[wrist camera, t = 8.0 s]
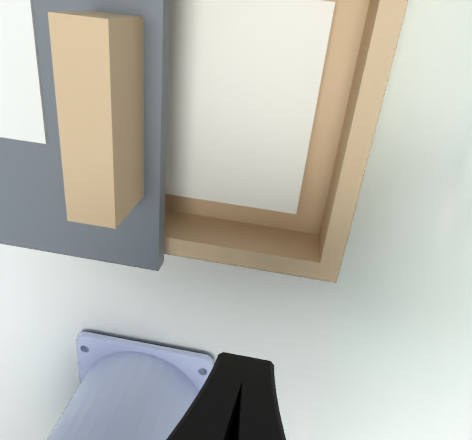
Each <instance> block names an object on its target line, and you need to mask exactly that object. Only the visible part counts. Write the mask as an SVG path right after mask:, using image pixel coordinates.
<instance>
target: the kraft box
mask: <svg viewBox="0 0 472 440" xmlns="http://www.w3.org/2000/svg"><path fill="white" fill-rule="evenodd" d="M407 2H408V0H170V22H169V62H168V102H167V142H166V183H165V223H164V254H169V255H175V256H181V257H187V258H193V259H199V260H205V261H211V262H216V263H222V264H228V265H234V266H240V267H246V268H252V269H258V270H264V271H270V272H275V273H281V274H287V275H293V276H299V277H305V278H311V279H317V280H323V281H329V282H334V283H336V282H337V278H338V274H339V270H340V266H341V262H342V258H343V254H344V250H345V247H346V243H347V239H348V235H349V231H350V227H351V223H352V219H353V215H354V211H355V207H356V203H357V199H358V195H359V191H360V187H361V184H362V180H363V176H364V172H365V168H366V164H367V160H368V156H369V152H370V148H371V144H372V140H373V136H374V132H375V128H376V124H377V121H378V117H379V113H380V109H381V105H382V101H383V97H384V93H385V89H386V85H387V81H388V77H389V73H390V69H391V65H392V62H393V58H394V54H395V50H396V46H397V42H398V38H399V34H400V30H401V26H402V22H403V18H404V14H405V10H406V6H407Z"/></svg>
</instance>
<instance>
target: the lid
mask: <svg viewBox="0 0 472 440" xmlns="http://www.w3.org/2000/svg"><path fill="white" fill-rule="evenodd" d="M169 22H170V0H0V243H1V244H6V245H12V246H18V247H24V248H29V249H35V250H41V251H47V252H52V253H58V254H64V255H70V256H75V257H81V258H87V259H93V260H98V261H104V262H110V263H116V264H122V265H127V266H133V267H139V268H145V269H150V270H156V271H158V270H159V269H160V267H161V265H162V263H163V262H164V223H165V183H166V142H167V102H168V62H169Z"/></svg>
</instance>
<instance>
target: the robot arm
mask: <svg viewBox="0 0 472 440" xmlns="http://www.w3.org/2000/svg"><path fill="white" fill-rule="evenodd" d="M76 343H77V353H78V364H79V374H80V386H79V387H78V389H77V391H76V392H75V394H74V396H73V397H72V399H71V401H70V402H69V404H68V406H67V407H66V409H65V410H64V412H63V414H62V415H61V417H60V419H59V420H58V422H57V424H56V425H55V427H54V429H53V430H52V432H51V434H50V435H49V437H48V439H47V440H286V438H285V434H284V430H283V425H282V421H281V417H280V412H279V406H278V401H277V395H276V388H275V378H274V365H273V364H272V362H271V361H267V360H262V359H256V358H251V357H246V356H241V355H235V354H230V353H225V352H223V353H221V354H219V355H218V357H217V359H216V362H215V364H214V366H213V359H212V358H211V357H210V356H209V355H206V354H201V353H196V352H190V351H185V350H180V349H174V348H169V347H164V346H159V345H153V344H148V343H143V342H138V341H132V340H127V339H122V338H117V337H111V336H106V335H101V334H96V333H90V332H81V333H80V334H79V335H78V337H77V339H76ZM86 346H87V347H86ZM201 368H203V369H206V370H203V369H201Z"/></svg>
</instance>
